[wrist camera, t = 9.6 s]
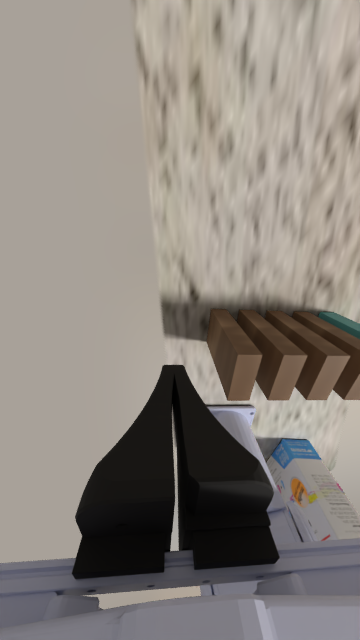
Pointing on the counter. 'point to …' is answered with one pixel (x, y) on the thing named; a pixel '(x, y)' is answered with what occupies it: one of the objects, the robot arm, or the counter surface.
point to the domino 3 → (311, 357)
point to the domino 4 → (341, 323)
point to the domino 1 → (232, 355)
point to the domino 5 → (356, 376)
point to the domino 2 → (273, 356)
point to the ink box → (313, 490)
